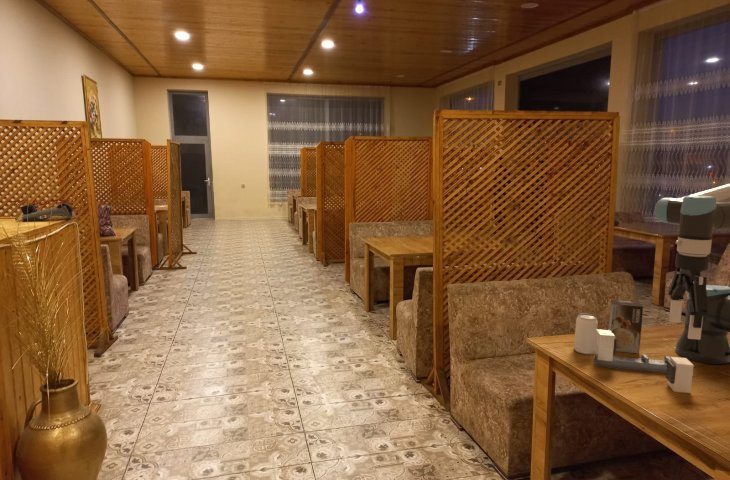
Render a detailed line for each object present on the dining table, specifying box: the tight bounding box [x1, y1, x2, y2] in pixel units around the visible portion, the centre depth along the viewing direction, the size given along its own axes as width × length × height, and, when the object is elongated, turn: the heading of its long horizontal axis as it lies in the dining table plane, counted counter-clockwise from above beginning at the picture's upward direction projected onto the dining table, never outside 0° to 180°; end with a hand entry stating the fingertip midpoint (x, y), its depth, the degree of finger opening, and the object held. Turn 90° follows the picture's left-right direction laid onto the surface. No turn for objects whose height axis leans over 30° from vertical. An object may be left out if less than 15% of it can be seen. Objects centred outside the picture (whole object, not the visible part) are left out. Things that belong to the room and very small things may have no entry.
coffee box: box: [608, 299, 644, 354], centre depth 167 cm, size 9×6×16 cm
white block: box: [665, 356, 695, 394], centre depth 140 cm, size 5×5×8 cm
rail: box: [593, 328, 671, 374], centre depth 153 cm, size 21×5×10 cm, turn 78°
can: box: [573, 313, 599, 355], centre depth 165 cm, size 6×6×12 cm
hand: (683, 330), depth 138 cm, fingers open, 13 cm apart
